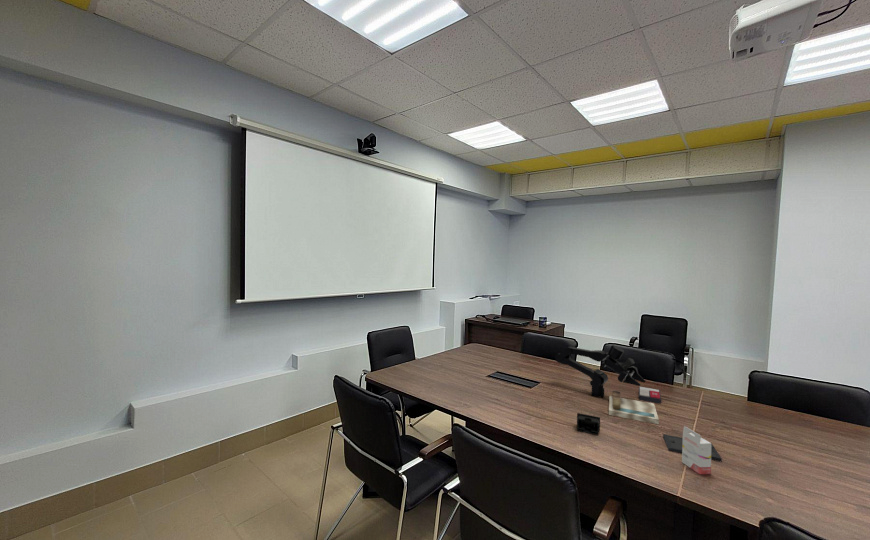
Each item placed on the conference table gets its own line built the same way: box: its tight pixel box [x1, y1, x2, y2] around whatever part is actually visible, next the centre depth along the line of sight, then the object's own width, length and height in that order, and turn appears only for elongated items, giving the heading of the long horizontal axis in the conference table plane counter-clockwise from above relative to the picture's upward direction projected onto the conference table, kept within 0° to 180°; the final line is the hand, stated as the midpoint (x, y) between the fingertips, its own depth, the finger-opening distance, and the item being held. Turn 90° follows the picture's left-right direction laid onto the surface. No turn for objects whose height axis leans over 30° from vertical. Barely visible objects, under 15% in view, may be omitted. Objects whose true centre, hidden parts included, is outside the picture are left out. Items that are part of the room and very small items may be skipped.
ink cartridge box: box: [681, 425, 712, 475], centre depth 132 cm, size 9×5×15 cm, turn 5°
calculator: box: [638, 386, 662, 405], centre depth 205 cm, size 11×4×15 cm
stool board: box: [608, 395, 660, 425], centre depth 184 cm, size 22×23×3 cm
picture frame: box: [662, 433, 723, 463], centre depth 147 cm, size 13×2×18 cm
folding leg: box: [611, 390, 621, 410], centre depth 188 cm, size 19×4×5 cm, turn 152°
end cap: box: [576, 412, 601, 436], centre depth 162 cm, size 10×7×7 cm
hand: (642, 383), depth 189 cm, fingers open, 9 cm apart
